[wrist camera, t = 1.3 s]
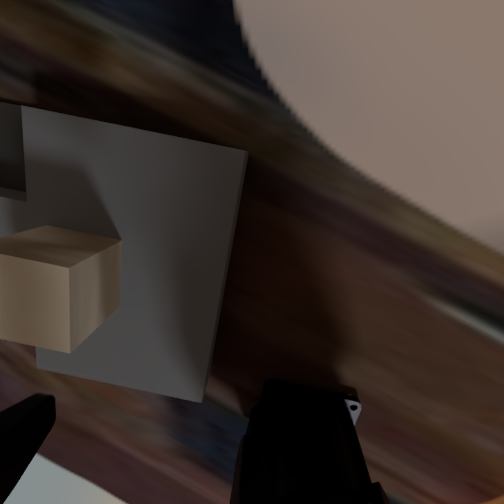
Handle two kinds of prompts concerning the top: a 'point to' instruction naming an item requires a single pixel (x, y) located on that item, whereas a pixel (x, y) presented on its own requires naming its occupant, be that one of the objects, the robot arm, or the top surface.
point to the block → (57, 286)
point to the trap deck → (131, 237)
